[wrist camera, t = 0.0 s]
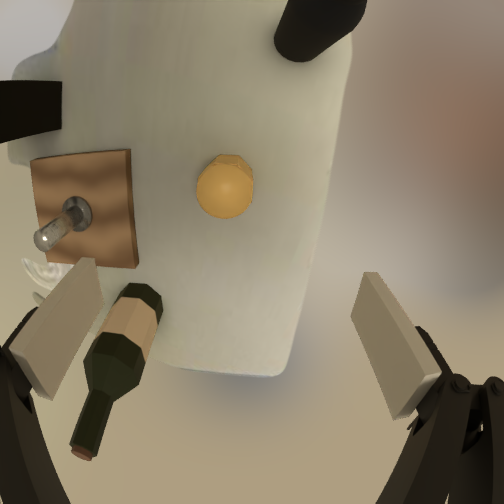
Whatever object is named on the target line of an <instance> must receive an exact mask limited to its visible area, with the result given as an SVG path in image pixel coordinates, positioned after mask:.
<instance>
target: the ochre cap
mask: <svg viewBox="0 0 504 504" xmlns="http://www.w3.org/2000/svg"><path fill="white" fill-rule="evenodd" d="M252 188H253V176H252V169H251V168H250V167H249V166H248V165H247V164H246V163H245V162H244V160H243V159H242V158H241V157H240V156H239V155H219V156H218V157H217V158H215V159H214V160H213V161H212V162H211V163H210V164H209V165H208V166H207V167H206V168H205V169H204V170H203V172H202V173H201V175H200V176H199V177H198V184H197V191H196V192H197V199H198V202H199V204H200V206H201V207H202V208H203V209H204V211H206V212H207V213H208V214H210V215H211V216H214V217H216V218H221V219H228V218H233V217H236V216H238V215H240V214H241V213H243V212H244V211H245V210H246V209H247V207H248V206H249V204H250V203H251V202H252V194H253V190H252Z"/></svg>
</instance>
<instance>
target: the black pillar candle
mask: <svg viewBox="0 0 504 504" xmlns="http://www.w3.org/2000/svg"><path fill="white" fill-rule="evenodd" d="M61 91H62V82H59V81H36V80H7V81H0V143H4V142H8V141H11V140H15V139H19V138H23V137H27V136H31V135H35V134H40V133H44V132H49V131H54V130H58V129H61Z"/></svg>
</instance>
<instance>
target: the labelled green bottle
mask: <svg viewBox="0 0 504 504" xmlns="http://www.w3.org/2000/svg"><path fill="white" fill-rule="evenodd" d="M162 313H163V306H162V300H161V296H160V295H159V294H158V293H157V292H156V291H154V290H153V289H152V288H151V287H150V286H149V285H147V284H139V283H129V284H128V285H127V286H126V287H125V288H124V289H123V290H122V291H121V292H120V294H119V296H118V297H117V299H116V301H115V303H114V304H113V306H112V308H111V310H110V311H109V313H108V315H107V317H106V319H105V320H104V322H103V324H102V326H101V328H100V330H99V331H98V333H97V335H96V337H95V339H94V341H93V343H92V345H91V347H90V349H89V351H88V352H87V355H86V357H85V359H84V361H83V363H84V368H85V374H86V378H87V384H88V388H89V393H88V396H87V398H86V401H85V403H84V406H83V408H82V411H81V413H80V416H79V419H78V422H77V424H76V427H75V430H74V432H73V435H72V438H71V441H70V446H71V447H72V450H71V452H72V453H73V454H74V455H75V456H77V457H79V458H81V459H83V460H87V461H91V459H92V457H95V456H97V454H98V450H99V446H100V443H101V440H102V436H103V433H104V430H105V427H106V423H107V420H108V417H109V414H110V411H111V408H112V405H113V402H114V401H116V400H117V399H119V398H120V397H122V396H123V395H124V394H126V393H128V392H129V391H130V390H132V389H133V388H135V387H136V386H137V385H139V382H140V379H141V376H142V373H143V369H144V366H145V363H146V360H147V357H148V354H149V351H150V348H151V345H152V342H153V339H154V336H155V333H156V330H157V327H158V324H159V321H160V318H161V315H162Z"/></svg>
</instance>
